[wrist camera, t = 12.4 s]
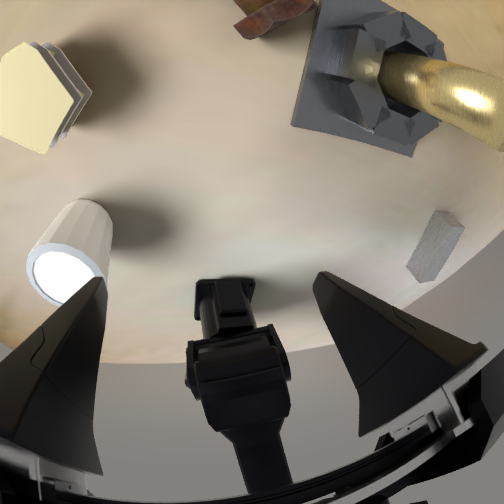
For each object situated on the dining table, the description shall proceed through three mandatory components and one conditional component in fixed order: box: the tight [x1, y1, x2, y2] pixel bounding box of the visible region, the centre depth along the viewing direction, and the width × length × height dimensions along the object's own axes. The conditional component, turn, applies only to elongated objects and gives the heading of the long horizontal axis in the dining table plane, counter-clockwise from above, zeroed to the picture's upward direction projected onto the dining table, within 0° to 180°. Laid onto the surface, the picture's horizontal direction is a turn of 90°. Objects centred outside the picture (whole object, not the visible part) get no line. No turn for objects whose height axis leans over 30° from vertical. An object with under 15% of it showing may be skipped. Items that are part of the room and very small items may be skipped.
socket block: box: [291, 0, 447, 158], centre depth 16 cm, size 14×14×4 cm
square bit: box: [406, 211, 465, 283], centre depth 33 cm, size 10×4×4 cm, turn 172°
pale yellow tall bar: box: [377, 51, 504, 152], centre depth 13 cm, size 4×4×12 cm
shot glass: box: [26, 199, 113, 307], centre depth 19 cm, size 7×7×7 cm
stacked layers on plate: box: [0, 42, 93, 155], centre depth 11 cm, size 10×9×6 cm
